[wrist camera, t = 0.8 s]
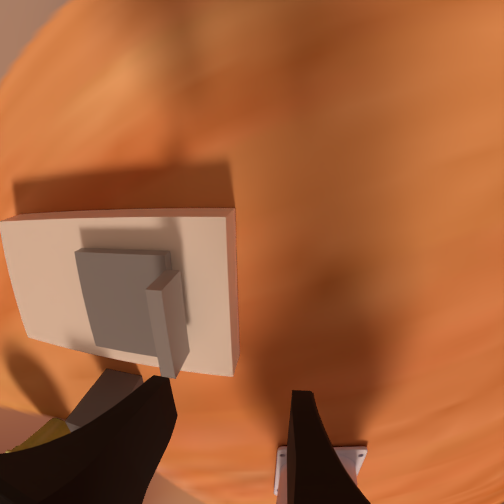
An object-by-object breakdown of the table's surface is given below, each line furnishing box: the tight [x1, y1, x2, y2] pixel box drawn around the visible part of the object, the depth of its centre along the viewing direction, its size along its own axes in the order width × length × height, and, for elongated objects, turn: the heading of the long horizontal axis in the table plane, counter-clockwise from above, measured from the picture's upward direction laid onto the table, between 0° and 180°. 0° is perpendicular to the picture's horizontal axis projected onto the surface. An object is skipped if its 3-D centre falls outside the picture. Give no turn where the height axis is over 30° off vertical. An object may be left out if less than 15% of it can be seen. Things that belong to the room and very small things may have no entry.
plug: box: [65, 369, 143, 432], centre depth 21 cm, size 4×4×8 cm
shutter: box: [74, 248, 190, 379], centre depth 16 cm, size 6×7×3 cm
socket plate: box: [0, 208, 240, 377], centre depth 20 cm, size 10×18×2 cm, turn 91°
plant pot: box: [5, 418, 71, 453], centre depth 26 cm, size 9×9×9 cm
